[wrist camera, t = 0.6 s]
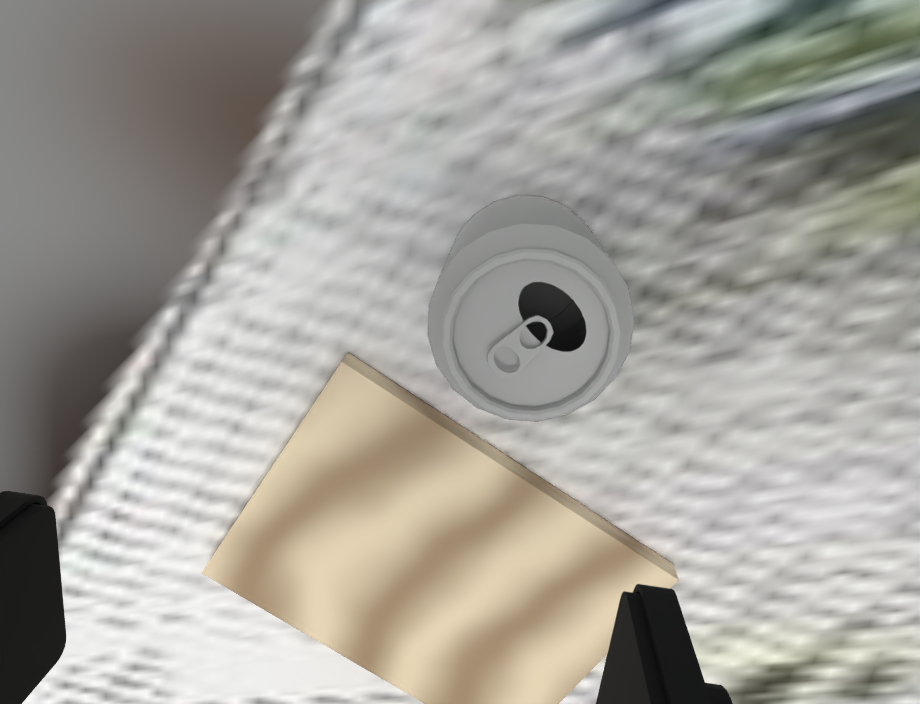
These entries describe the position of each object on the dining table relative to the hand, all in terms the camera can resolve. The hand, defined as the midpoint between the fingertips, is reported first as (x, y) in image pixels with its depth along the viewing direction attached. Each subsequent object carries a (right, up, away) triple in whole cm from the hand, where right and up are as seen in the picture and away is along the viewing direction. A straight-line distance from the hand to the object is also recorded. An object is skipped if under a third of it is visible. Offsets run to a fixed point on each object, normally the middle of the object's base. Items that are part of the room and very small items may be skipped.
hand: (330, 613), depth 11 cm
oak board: (+1, -8, +29) cm, 31 cm away
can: (+5, +8, +24) cm, 26 cm away
